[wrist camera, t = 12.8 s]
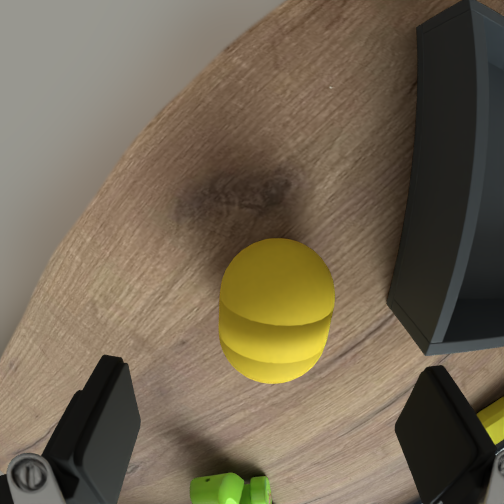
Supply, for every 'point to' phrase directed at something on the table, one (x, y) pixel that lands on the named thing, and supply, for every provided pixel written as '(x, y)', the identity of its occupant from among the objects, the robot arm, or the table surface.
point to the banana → (493, 420)
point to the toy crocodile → (230, 490)
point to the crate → (455, 187)
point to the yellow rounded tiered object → (275, 310)
